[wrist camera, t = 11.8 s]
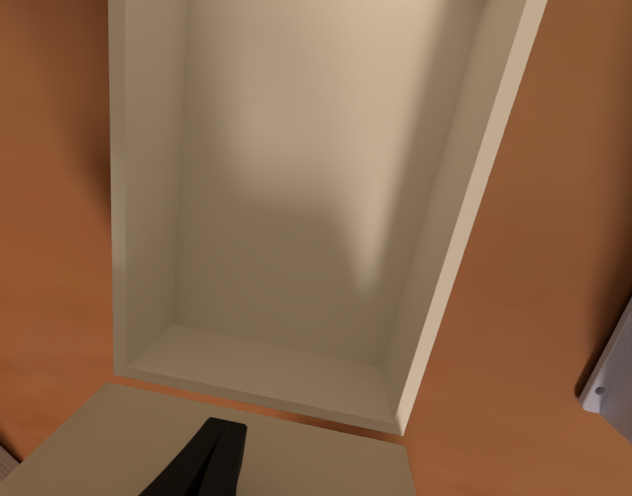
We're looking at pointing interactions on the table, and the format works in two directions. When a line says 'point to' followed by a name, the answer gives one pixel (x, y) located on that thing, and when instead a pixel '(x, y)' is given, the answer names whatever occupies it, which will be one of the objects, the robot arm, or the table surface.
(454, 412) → the table surface
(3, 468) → the supplement box
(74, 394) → the table surface
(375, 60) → the carton
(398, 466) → the carton flap
